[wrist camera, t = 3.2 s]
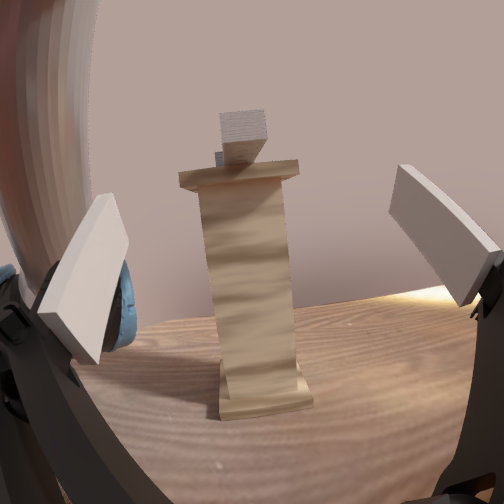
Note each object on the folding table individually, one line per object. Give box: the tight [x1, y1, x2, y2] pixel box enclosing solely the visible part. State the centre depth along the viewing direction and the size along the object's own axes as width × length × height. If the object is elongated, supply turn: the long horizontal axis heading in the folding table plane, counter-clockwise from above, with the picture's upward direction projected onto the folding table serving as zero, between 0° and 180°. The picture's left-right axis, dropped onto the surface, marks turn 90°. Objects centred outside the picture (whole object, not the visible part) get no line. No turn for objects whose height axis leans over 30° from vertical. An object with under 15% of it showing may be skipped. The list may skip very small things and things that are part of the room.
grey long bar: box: [215, 109, 268, 167], centre depth 29 cm, size 24×5×3 cm, turn 5°
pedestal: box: [179, 160, 313, 421], centre depth 37 cm, size 14×12×30 cm
